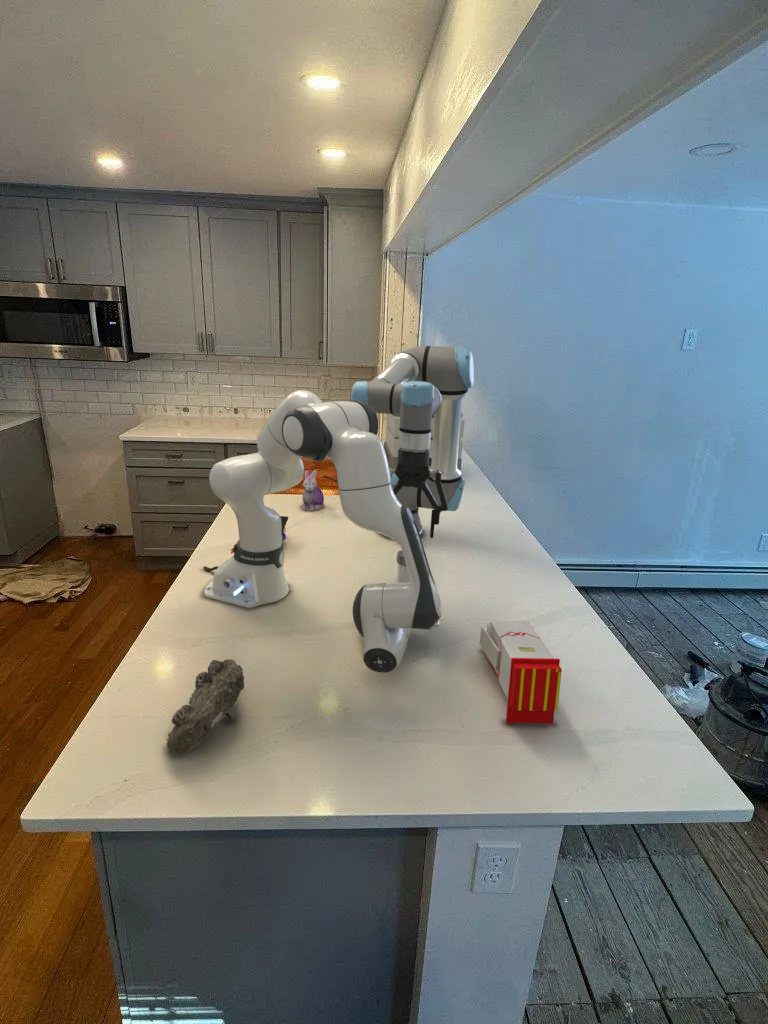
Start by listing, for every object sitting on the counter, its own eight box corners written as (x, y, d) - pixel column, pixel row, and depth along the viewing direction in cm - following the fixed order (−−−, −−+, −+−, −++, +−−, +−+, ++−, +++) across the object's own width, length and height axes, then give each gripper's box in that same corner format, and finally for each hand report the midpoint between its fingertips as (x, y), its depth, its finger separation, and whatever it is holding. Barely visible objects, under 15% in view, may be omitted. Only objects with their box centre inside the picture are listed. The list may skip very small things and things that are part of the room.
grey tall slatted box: (382, 463, 289) (386, 382, 275) (445, 464, 293) (451, 384, 279) (390, 482, 257) (394, 392, 243) (460, 483, 261) (468, 394, 247)
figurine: (306, 512, 216) (305, 474, 210) (297, 504, 224) (296, 467, 219) (329, 509, 220) (329, 472, 215) (319, 501, 228) (319, 465, 223)
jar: (415, 609, 150) (419, 554, 145) (407, 617, 146) (411, 560, 141) (400, 605, 152) (403, 550, 147) (392, 612, 148) (395, 556, 143)
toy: (526, 605, 135) (570, 665, 105) (521, 658, 137) (563, 730, 108) (475, 604, 134) (506, 664, 105) (472, 657, 137) (500, 729, 108)
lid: (420, 561, 145) (421, 552, 145) (411, 568, 141) (412, 559, 140) (402, 556, 148) (402, 547, 147) (393, 563, 143) (393, 554, 143)
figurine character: (283, 556, 181) (289, 533, 194) (282, 535, 178) (288, 514, 191) (262, 555, 181) (269, 533, 194) (260, 534, 177) (268, 513, 191)
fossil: (192, 660, 117) (244, 628, 112) (224, 691, 120) (276, 661, 115) (142, 746, 98) (202, 712, 93) (182, 779, 101) (242, 748, 96)
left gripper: (439, 617, 128) (444, 589, 141) (351, 605, 132) (364, 579, 144) (436, 641, 130) (442, 611, 143) (350, 628, 134) (363, 600, 147)
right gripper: (461, 447, 138) (454, 531, 145) (366, 442, 138) (363, 526, 146) (464, 455, 130) (456, 543, 138) (363, 449, 131) (361, 537, 139)
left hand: (402, 595), depth 144 cm, fingers open, 8 cm apart
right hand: (408, 534), depth 142 cm, fingers open, 11 cm apart
